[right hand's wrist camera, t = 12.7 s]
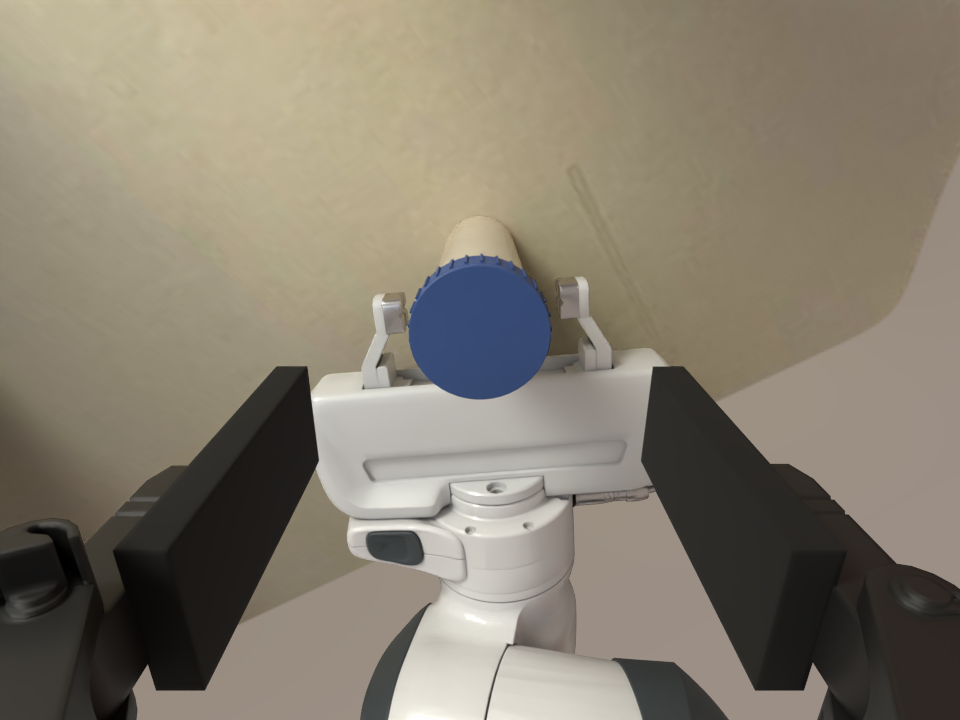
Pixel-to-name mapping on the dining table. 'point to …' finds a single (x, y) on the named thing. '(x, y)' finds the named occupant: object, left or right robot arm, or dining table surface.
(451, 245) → the white cylindrical bottle
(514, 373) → the lid
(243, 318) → the dining table surface
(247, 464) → the right robot arm
